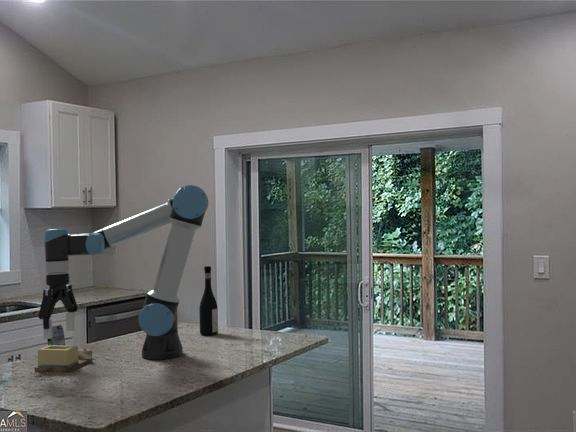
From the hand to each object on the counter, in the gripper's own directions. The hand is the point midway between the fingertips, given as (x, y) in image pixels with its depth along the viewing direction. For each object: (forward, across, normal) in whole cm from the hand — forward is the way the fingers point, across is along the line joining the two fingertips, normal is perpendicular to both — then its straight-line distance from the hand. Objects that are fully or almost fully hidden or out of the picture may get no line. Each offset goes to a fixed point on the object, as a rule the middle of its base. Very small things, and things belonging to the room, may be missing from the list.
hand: (59, 334), depth 204 cm
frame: (+11, 0, -1) cm, 11 cm away
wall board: (+12, -3, 0) cm, 12 cm away
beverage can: (+12, -16, -12) cm, 23 cm away
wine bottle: (+13, -62, +33) cm, 72 cm away
